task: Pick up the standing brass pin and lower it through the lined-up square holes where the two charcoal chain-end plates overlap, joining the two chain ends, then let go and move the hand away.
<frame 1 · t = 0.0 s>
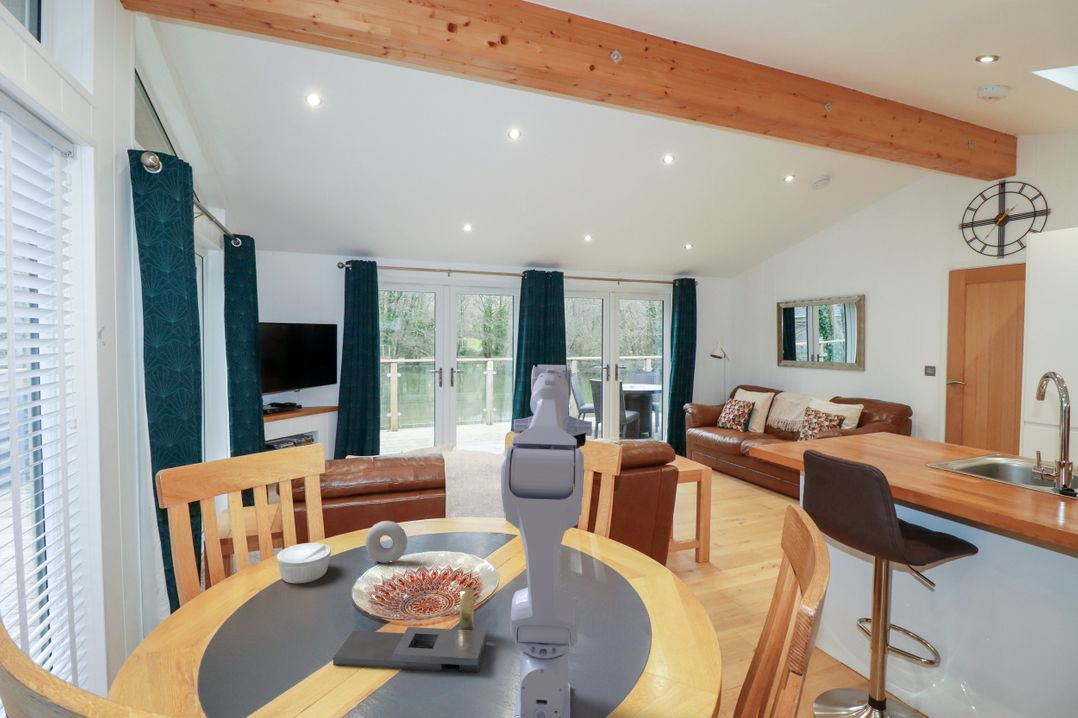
hand: (553, 449, 105), 32 cm above the table, tool tilted 50°, fingers open, 7 cm apart
link b: (423, 654, 90), on the table
ramekin: (304, 575, 119), on the table
link a: (423, 654, 90), on the table
donut: (386, 563, 126), on the table
pin: (466, 633, 97), on the table
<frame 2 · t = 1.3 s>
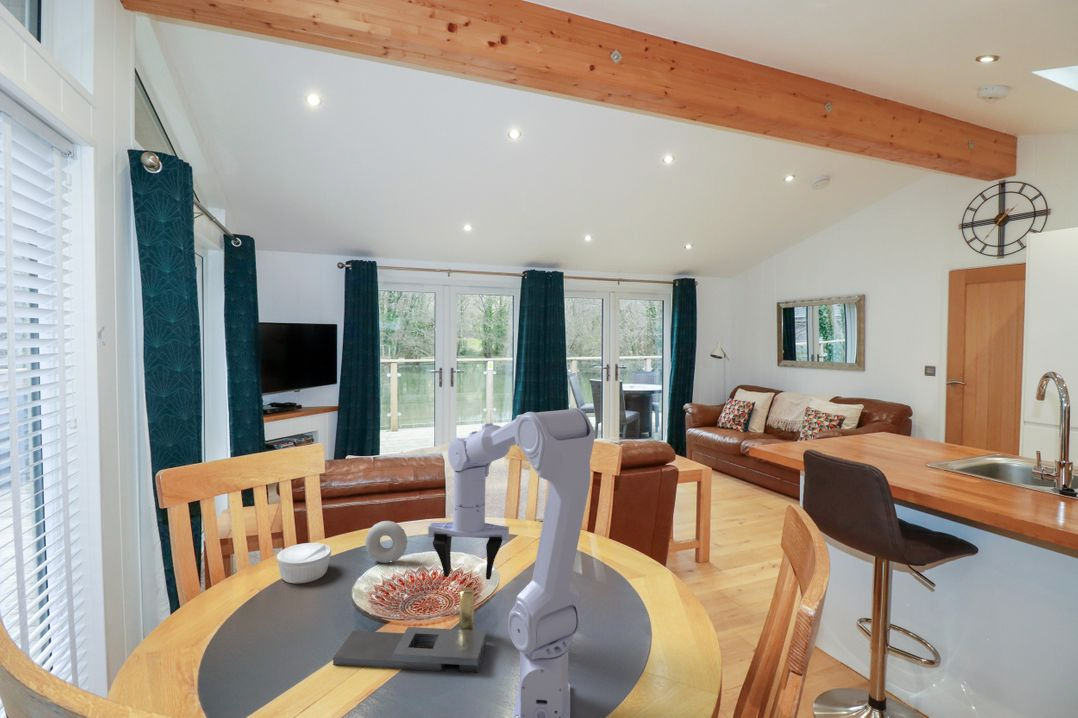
hand: (468, 575, 96), 11 cm above the table, tool pointing down, fingers open, 7 cm apart
nothing on the table moved.
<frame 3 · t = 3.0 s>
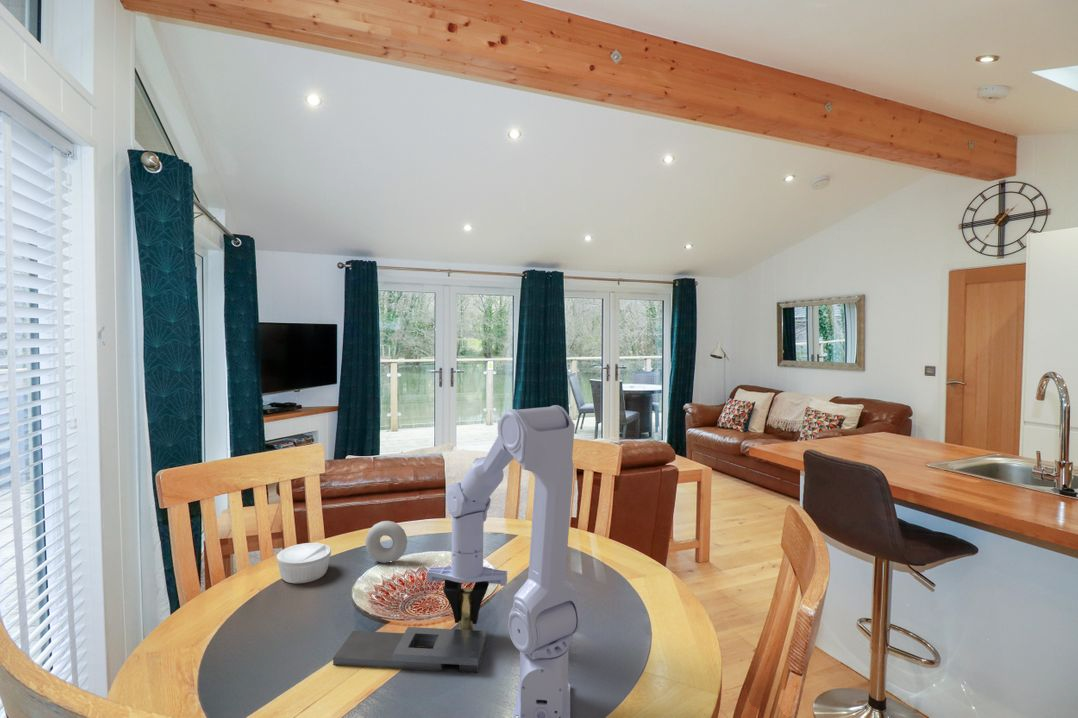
hand: (466, 620, 97), 2 cm above the table, tool pointing down, fingers closed on pin, 3 cm apart
pin: (466, 633, 97), on the table, touching gripper
everything else where it was.
when the fingers open (3 cm above the table, at t = 6.8 s): pin stays where it is, on the table.
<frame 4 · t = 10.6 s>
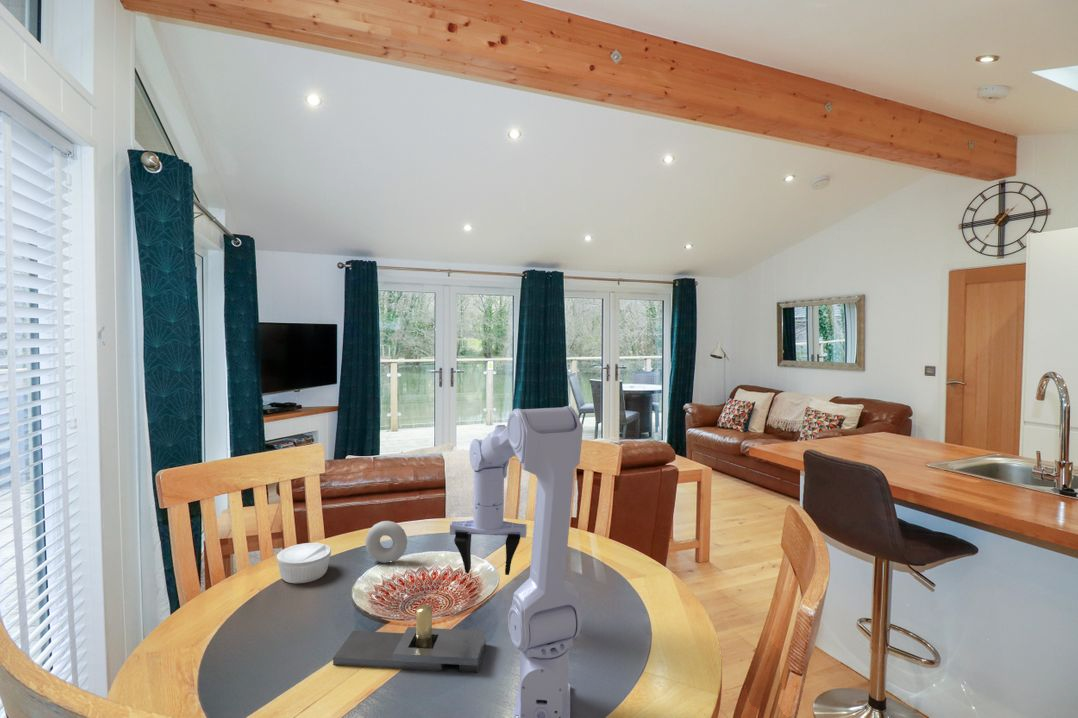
hand: (487, 571, 101), 9 cm above the table, tool pointing down, fingers open, 7 cm apart
pin: (423, 654, 90), on the table
everything else where it was.
at the end: pin 0.2 cm off-centre on the link a, point 0.0 cm above the link a's base; pin tilted 0°; the gripper is holding nothing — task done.
